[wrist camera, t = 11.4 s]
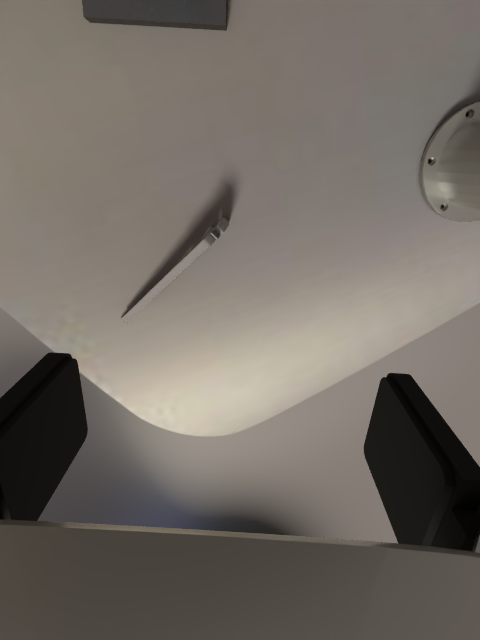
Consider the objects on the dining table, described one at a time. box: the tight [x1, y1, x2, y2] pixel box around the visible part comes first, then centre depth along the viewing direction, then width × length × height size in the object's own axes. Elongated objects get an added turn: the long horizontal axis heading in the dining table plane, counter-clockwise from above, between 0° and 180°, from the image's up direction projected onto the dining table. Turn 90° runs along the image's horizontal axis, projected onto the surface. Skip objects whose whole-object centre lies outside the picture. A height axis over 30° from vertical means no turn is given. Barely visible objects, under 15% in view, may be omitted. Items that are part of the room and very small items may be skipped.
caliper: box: [121, 217, 229, 323], centre depth 45 cm, size 20×1×6 cm, turn 134°
